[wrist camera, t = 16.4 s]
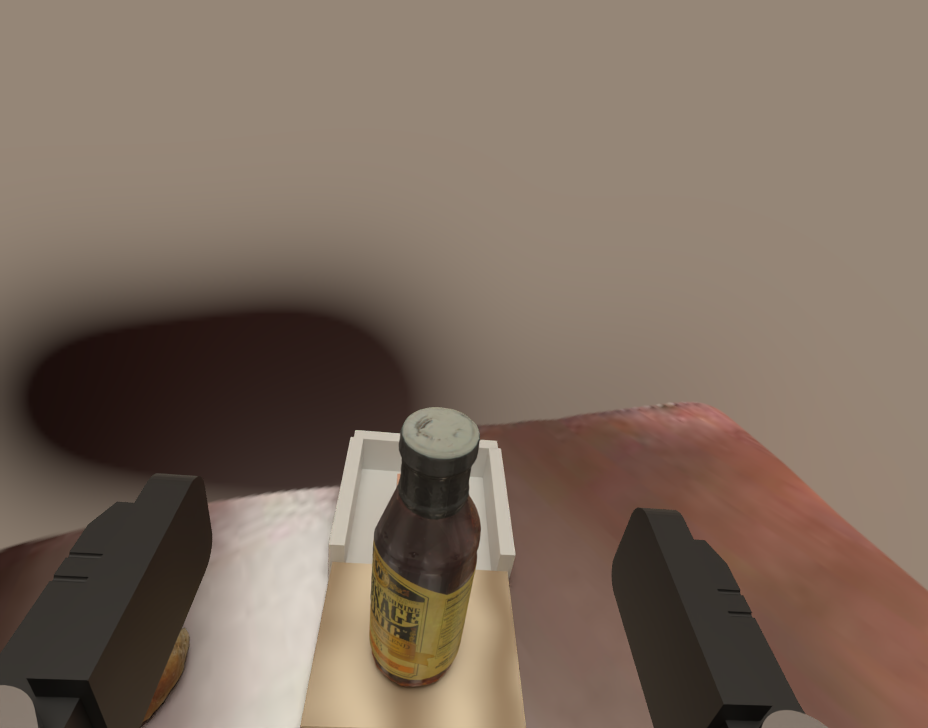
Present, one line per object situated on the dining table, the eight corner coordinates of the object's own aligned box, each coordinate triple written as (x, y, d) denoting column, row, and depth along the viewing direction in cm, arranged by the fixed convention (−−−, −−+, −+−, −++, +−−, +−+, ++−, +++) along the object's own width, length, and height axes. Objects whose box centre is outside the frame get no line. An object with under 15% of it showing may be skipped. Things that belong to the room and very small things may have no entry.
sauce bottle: (354, 632, 40) (350, 405, 29) (431, 595, 43) (453, 377, 32) (396, 718, 35) (410, 485, 25) (479, 669, 38) (522, 443, 28)
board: (502, 590, 47) (507, 571, 46) (519, 750, 37) (526, 732, 36) (332, 581, 46) (332, 561, 44) (301, 745, 36) (300, 725, 34)
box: (492, 474, 59) (499, 441, 56) (505, 590, 47) (515, 555, 45) (351, 464, 57) (352, 429, 55) (328, 581, 46) (328, 544, 43)
